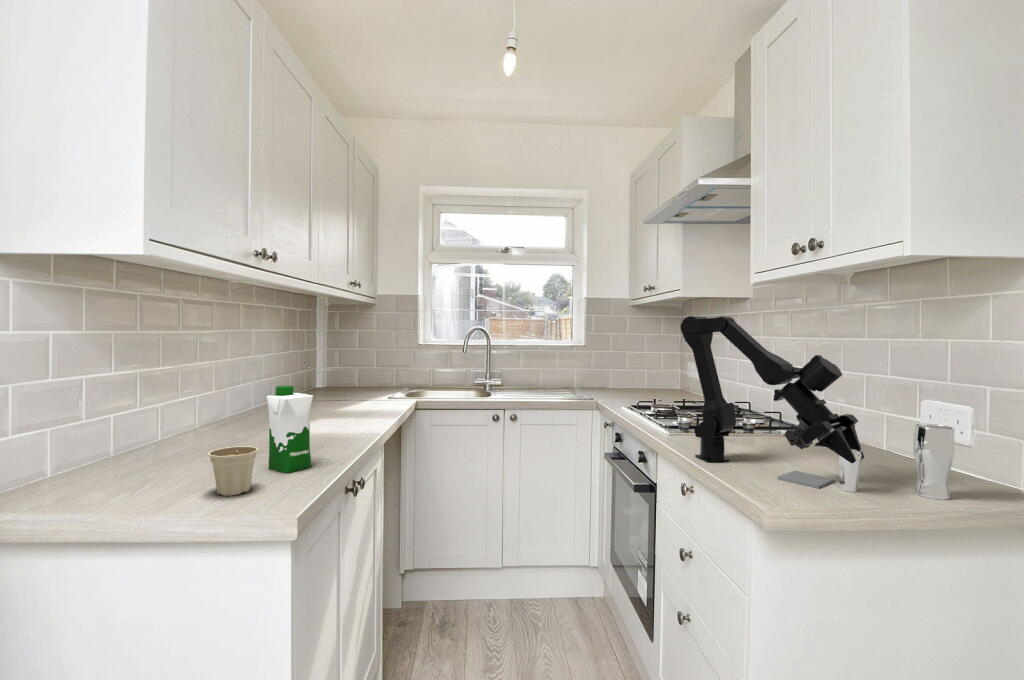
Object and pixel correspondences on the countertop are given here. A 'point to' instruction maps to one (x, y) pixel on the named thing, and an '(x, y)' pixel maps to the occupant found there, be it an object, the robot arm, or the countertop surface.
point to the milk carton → (289, 430)
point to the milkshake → (849, 472)
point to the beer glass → (933, 459)
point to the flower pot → (233, 469)
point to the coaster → (806, 479)
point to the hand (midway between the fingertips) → (858, 460)
